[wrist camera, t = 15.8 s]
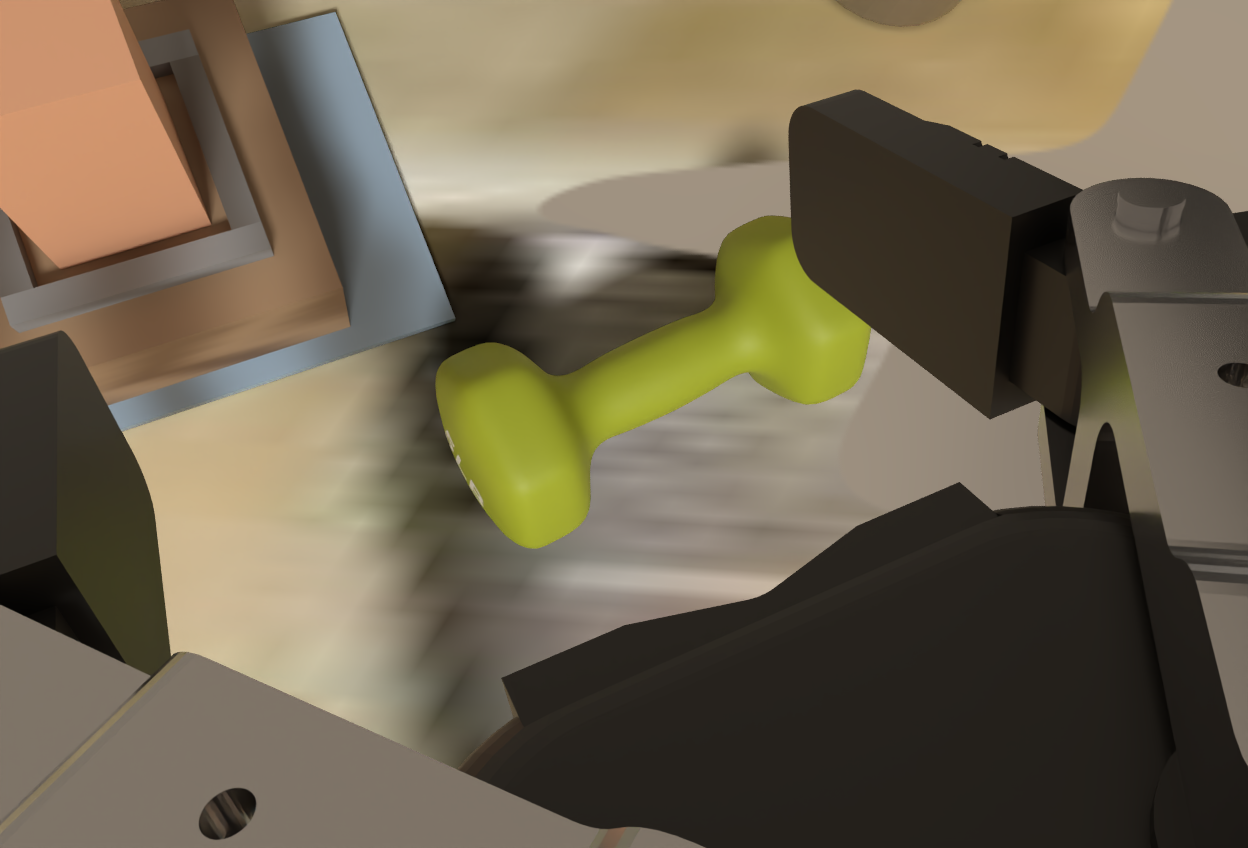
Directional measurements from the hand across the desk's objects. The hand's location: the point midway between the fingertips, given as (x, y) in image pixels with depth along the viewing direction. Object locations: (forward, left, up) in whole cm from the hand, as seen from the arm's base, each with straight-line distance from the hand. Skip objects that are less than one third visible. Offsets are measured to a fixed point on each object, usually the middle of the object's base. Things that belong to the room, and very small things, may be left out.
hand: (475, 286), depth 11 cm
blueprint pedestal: (+6, -15, -31) cm, 34 cm away
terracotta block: (+6, -15, -25) cm, 30 cm away
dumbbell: (-10, -2, -31) cm, 33 cm away
